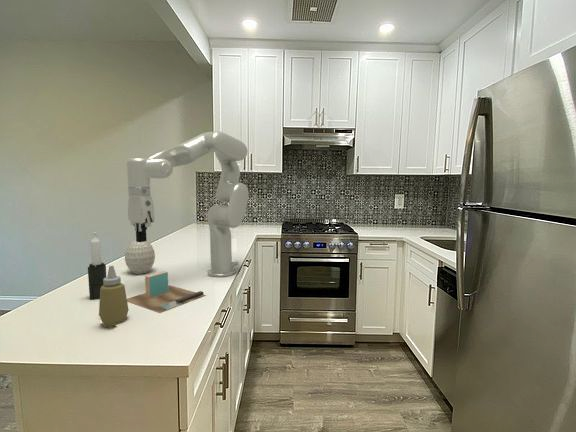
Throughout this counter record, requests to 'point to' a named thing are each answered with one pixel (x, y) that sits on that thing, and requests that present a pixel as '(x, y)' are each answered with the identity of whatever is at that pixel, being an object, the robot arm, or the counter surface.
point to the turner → (180, 301)
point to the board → (162, 299)
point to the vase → (139, 257)
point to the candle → (96, 270)
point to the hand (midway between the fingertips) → (141, 241)
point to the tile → (156, 284)
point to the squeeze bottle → (112, 300)
